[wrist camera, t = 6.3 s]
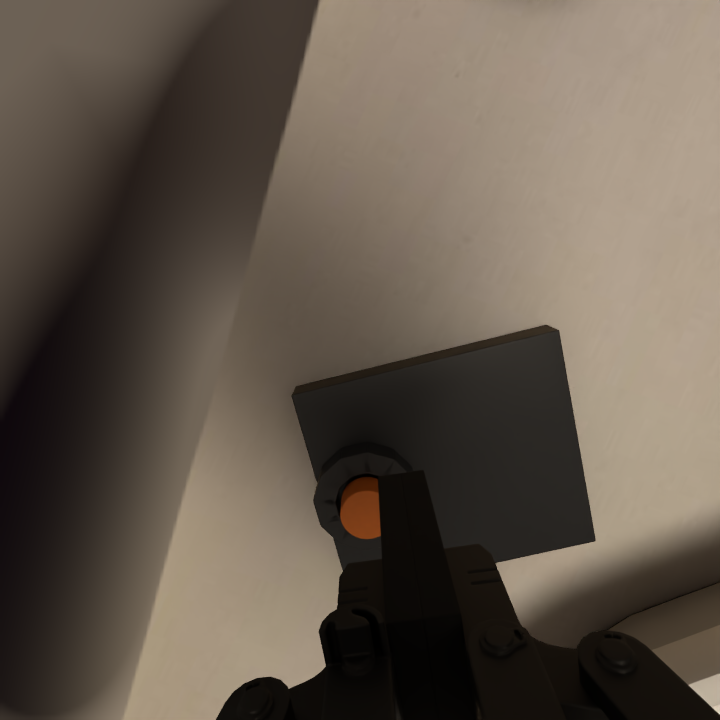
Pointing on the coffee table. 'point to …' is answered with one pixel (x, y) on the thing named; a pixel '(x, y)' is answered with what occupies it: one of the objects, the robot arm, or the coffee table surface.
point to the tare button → (361, 508)
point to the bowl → (684, 638)
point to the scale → (457, 444)
